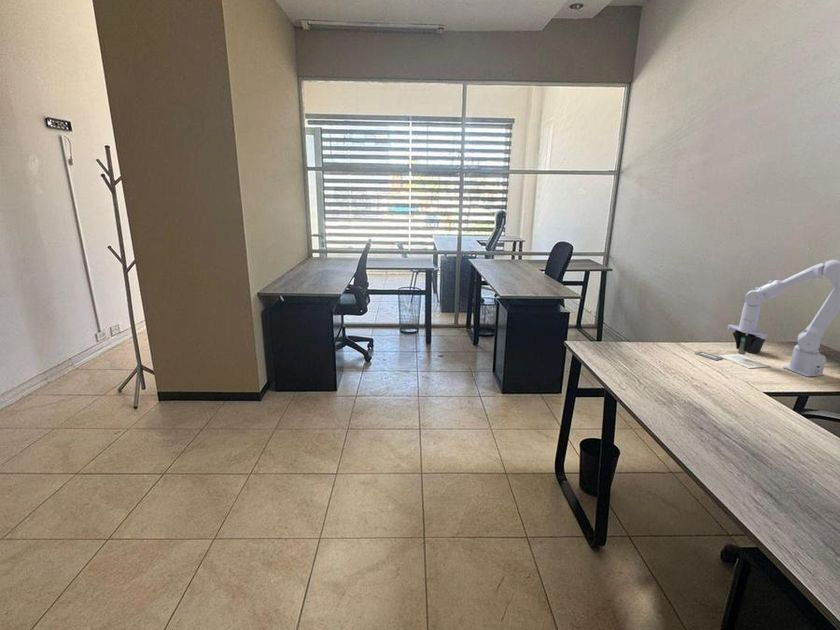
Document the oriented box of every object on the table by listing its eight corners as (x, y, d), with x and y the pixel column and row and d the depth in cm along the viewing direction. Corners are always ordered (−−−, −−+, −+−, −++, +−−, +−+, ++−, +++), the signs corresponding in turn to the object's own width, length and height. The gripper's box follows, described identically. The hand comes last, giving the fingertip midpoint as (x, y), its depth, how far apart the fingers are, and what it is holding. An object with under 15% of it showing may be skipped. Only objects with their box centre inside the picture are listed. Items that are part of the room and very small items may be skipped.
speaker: (736, 347, 190) (744, 326, 186) (747, 347, 191) (755, 326, 187) (751, 355, 183) (759, 333, 180) (762, 355, 184) (770, 333, 180)
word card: (723, 358, 178) (723, 357, 178) (716, 360, 176) (716, 359, 176) (701, 351, 186) (701, 351, 186) (694, 353, 184) (694, 353, 184)
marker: (746, 354, 175) (750, 339, 173) (739, 354, 176) (742, 338, 174) (743, 352, 178) (747, 337, 176) (736, 352, 178) (739, 336, 176)
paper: (769, 366, 170) (769, 365, 169) (748, 368, 168) (748, 367, 168) (737, 354, 183) (737, 353, 183) (718, 356, 181) (718, 355, 181)
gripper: (775, 322, 167) (767, 354, 171) (737, 313, 180) (731, 343, 184) (763, 324, 165) (756, 356, 169) (726, 315, 178) (720, 345, 182)
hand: (742, 349), depth 176 cm, fingers closed on marker, 2 cm apart
